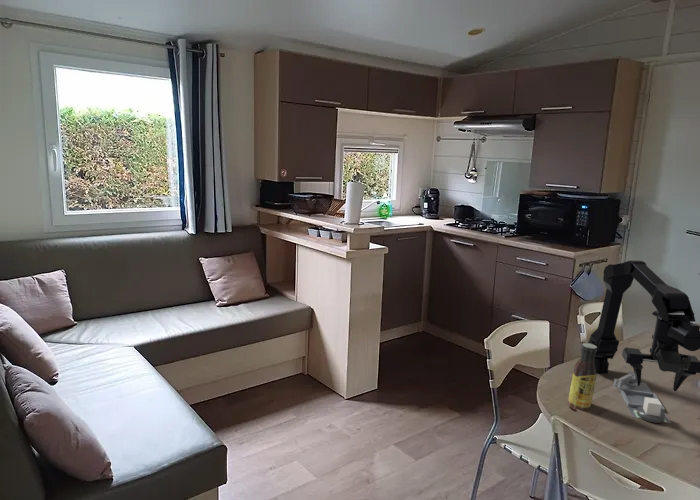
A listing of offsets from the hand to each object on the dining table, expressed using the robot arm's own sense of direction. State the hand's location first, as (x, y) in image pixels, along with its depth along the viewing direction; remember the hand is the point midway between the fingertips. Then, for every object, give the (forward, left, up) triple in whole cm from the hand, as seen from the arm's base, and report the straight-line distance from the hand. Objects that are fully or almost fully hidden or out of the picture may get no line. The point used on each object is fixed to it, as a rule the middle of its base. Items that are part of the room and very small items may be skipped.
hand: (656, 388), depth 145 cm
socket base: (0, +11, -10) cm, 15 cm away
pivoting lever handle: (-3, +18, -9) cm, 20 cm away
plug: (0, 0, -9) cm, 9 cm away
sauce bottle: (-19, +2, -11) cm, 22 cm away
